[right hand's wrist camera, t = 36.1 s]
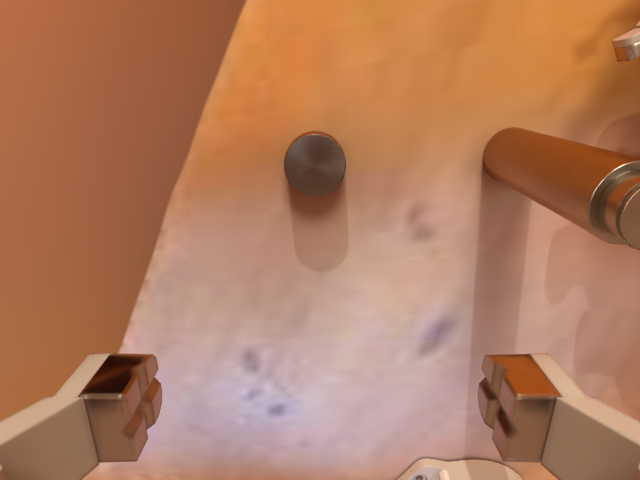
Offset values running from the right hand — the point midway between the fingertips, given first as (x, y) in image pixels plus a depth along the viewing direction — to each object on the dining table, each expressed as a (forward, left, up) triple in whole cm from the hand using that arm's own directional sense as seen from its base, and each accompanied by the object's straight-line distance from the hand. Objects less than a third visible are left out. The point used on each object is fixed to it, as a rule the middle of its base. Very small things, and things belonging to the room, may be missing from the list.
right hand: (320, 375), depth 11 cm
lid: (0, 0, -26) cm, 26 cm away
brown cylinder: (+12, -11, -28) cm, 32 cm away
